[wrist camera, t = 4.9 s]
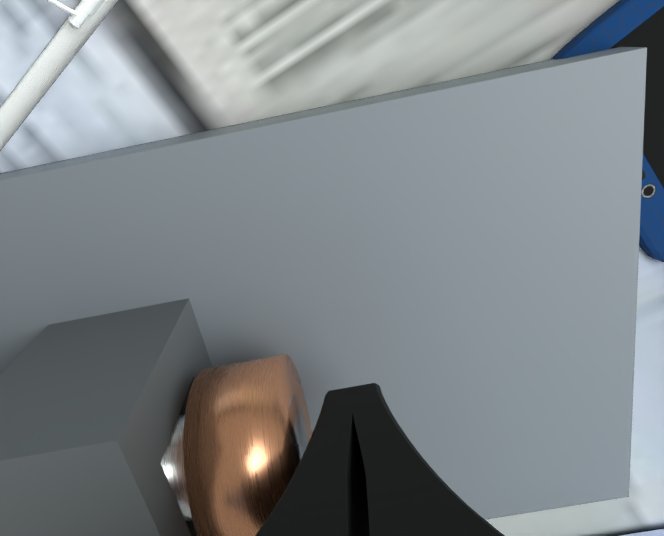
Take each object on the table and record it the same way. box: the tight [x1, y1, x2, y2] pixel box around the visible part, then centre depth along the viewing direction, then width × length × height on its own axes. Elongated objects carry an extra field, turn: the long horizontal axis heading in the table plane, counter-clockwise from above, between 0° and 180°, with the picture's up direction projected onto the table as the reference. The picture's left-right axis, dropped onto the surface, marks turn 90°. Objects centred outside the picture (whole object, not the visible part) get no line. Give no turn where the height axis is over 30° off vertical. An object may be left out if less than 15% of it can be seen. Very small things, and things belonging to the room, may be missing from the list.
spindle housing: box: [0, 47, 647, 536], centre depth 14 cm, size 14×24×7 cm, turn 101°
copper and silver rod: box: [161, 354, 312, 536], centre depth 13 cm, size 4×12×4 cm, turn 101°
